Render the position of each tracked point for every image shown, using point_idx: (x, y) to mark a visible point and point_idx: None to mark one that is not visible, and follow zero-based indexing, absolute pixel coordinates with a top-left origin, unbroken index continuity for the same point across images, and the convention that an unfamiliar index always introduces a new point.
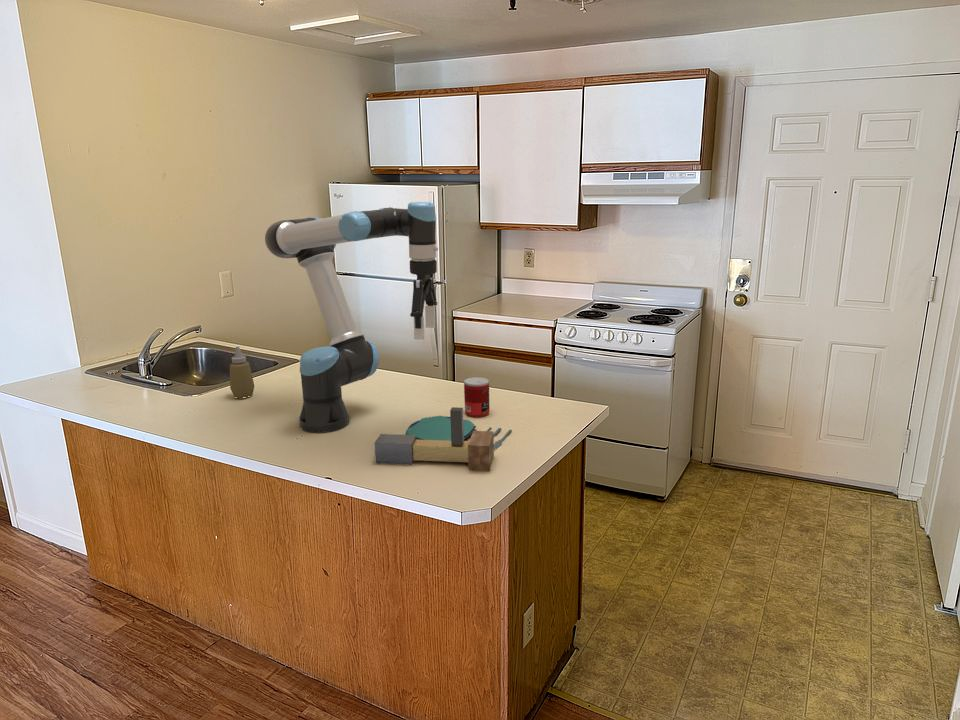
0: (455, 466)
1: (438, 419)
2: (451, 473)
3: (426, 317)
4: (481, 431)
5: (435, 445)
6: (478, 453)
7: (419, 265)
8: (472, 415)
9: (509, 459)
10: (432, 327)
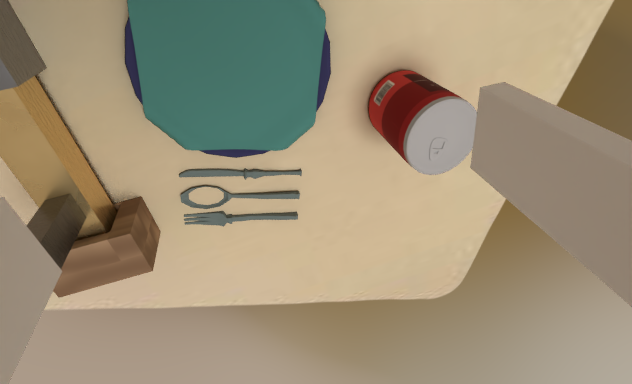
0: None
1: (306, 26)
2: (9, 195)
3: (561, 144)
4: (136, 250)
5: (13, 163)
6: None
7: None
8: (369, 103)
9: (157, 261)
10: (475, 151)
